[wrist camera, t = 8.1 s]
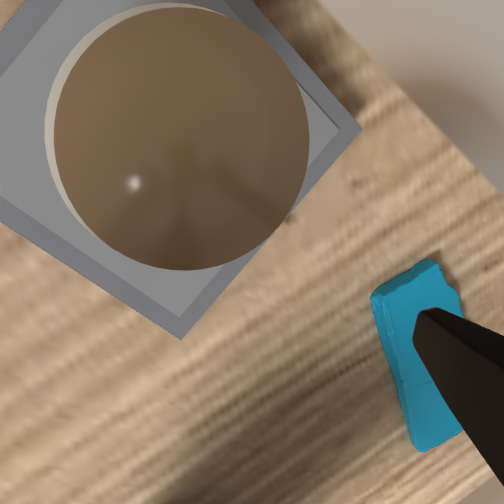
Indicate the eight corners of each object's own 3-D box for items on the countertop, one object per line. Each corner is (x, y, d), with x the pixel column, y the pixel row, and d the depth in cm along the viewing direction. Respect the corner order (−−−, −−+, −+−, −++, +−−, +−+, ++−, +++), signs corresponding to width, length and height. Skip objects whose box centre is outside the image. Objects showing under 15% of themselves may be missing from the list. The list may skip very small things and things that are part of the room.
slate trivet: (348, 127, 20) (363, 128, 19) (177, 328, 21) (181, 340, 20) (133, -118, 15) (135, -136, 14) (-87, 152, 16) (-102, 155, 15)
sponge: (470, 244, 24) (382, 296, 22) (497, 411, 28) (426, 463, 27) (447, 238, 25) (363, 287, 23) (477, 398, 30) (408, 447, 28)
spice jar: (222, 128, 17) (365, 158, 8) (139, 207, 17) (186, 329, 8) (139, 30, 16) (200, -82, 6) (46, 117, 15) (-37, 138, 6)
